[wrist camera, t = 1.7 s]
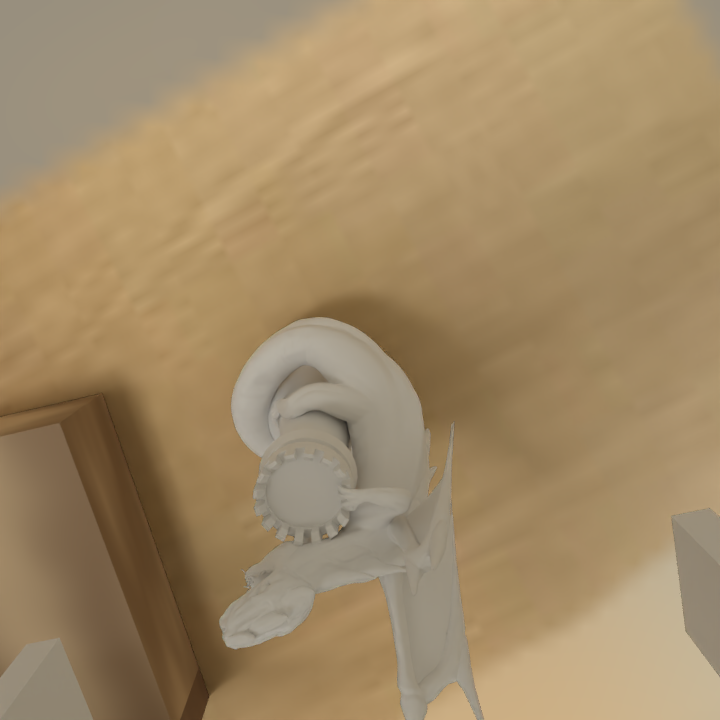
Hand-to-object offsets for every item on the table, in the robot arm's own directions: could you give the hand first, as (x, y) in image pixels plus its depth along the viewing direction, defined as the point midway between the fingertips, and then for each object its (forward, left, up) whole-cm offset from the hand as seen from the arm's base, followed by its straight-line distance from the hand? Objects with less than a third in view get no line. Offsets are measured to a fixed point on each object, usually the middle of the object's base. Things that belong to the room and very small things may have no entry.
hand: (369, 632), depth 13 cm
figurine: (0, 0, -12) cm, 12 cm away
